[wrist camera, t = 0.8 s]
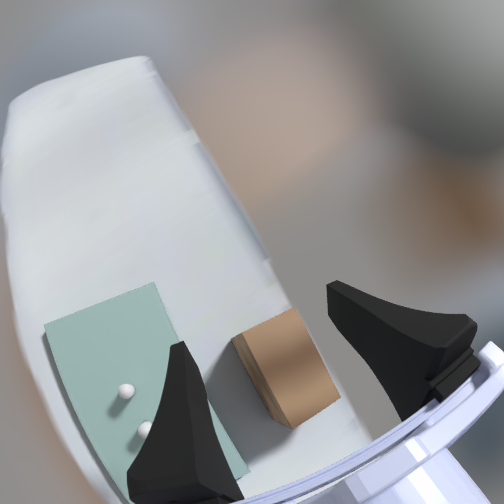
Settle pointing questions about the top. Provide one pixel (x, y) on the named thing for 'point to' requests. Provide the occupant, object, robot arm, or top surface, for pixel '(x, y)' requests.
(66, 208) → the top surface
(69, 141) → the top surface
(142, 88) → the top surface
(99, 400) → the pin board
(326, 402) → the box
